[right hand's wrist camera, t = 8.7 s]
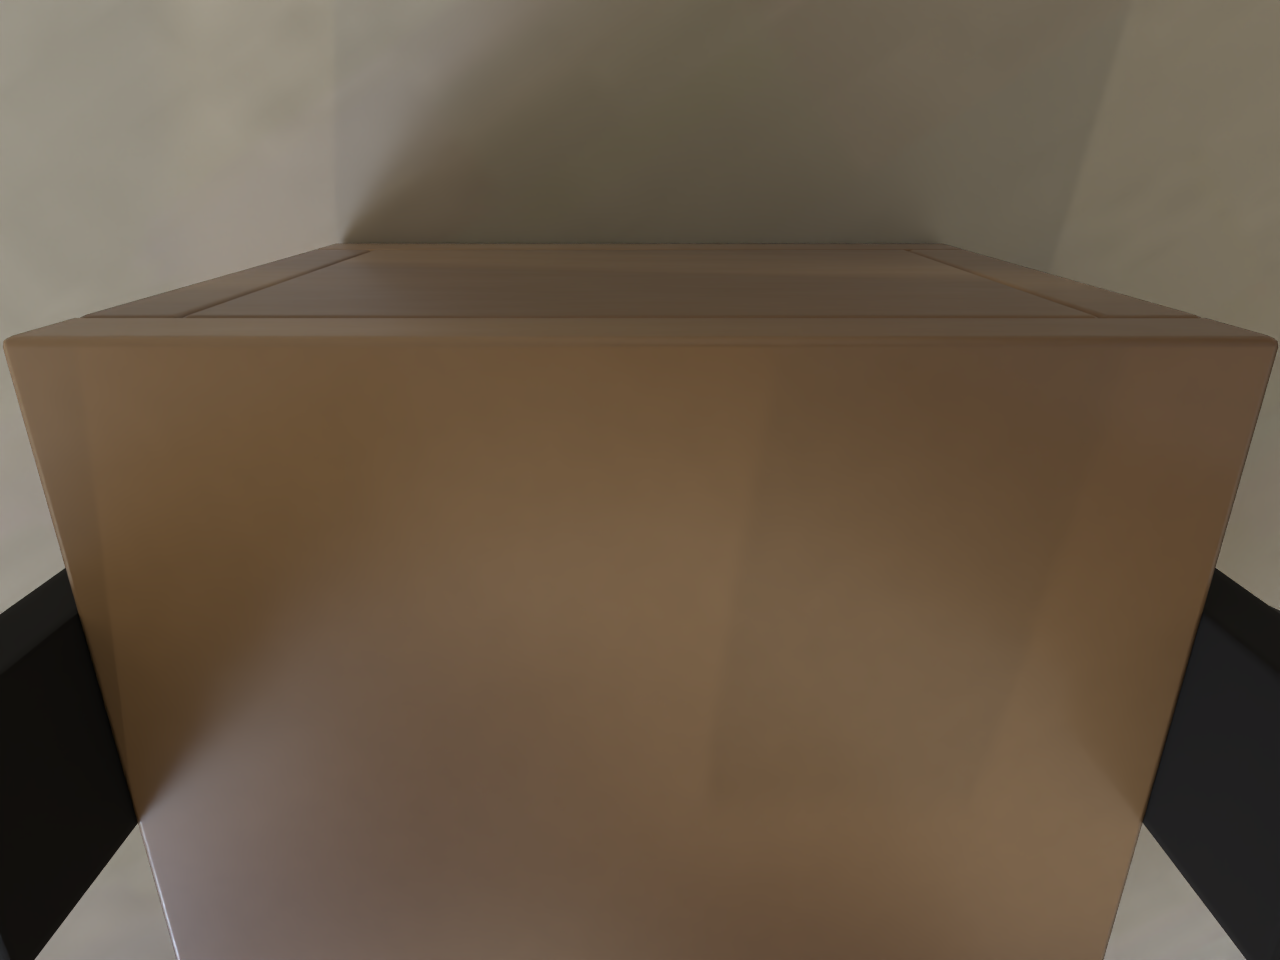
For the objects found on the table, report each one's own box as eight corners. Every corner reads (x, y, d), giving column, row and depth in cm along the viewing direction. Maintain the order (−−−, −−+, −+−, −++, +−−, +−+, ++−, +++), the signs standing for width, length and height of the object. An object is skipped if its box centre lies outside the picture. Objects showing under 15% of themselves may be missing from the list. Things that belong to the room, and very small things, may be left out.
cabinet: (857, 915, 21) (989, 1370, 13) (421, 916, 21) (291, 1371, 13) (945, 243, 15) (1286, 338, 7) (333, 243, 15) (-4, 337, 7)
